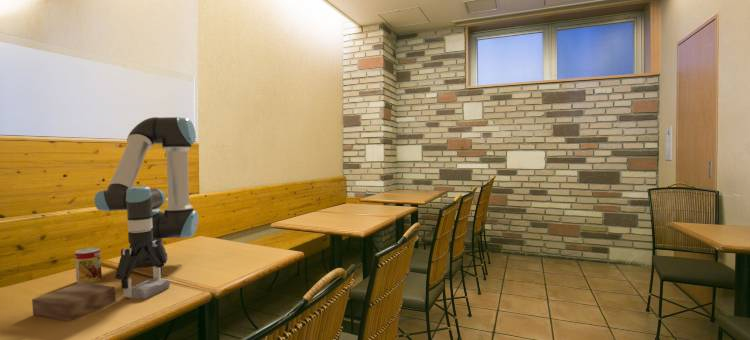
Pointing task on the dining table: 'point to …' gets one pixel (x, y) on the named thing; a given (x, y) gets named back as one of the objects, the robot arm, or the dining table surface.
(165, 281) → the stone block
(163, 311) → the dining table surface
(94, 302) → the walnut plinth
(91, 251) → the canned food
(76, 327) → the dining table surface
